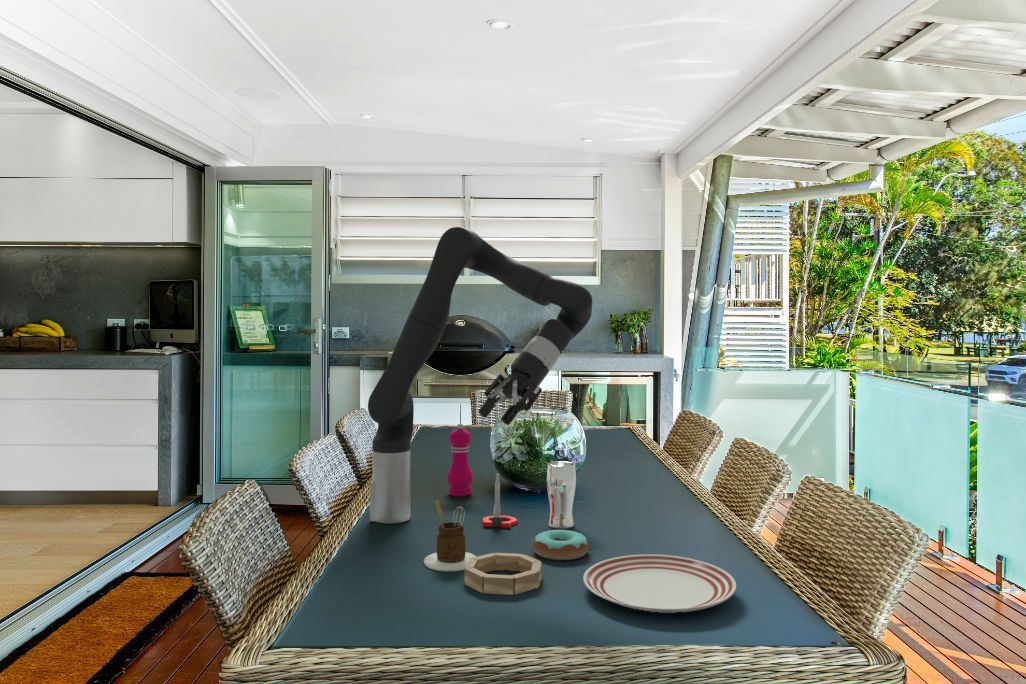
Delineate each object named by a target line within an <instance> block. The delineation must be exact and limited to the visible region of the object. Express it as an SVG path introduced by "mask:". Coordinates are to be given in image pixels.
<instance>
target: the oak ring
mask: <svg viewBox="0 0 1026 684" xmlns="http://www.w3.org/2000/svg"><path fill="white" fill-rule="evenodd" d="M542 567H543V566H542V560H539V559H537V558H533V557H531V556H529V555H527V554H522V553H512V552H511V553H510V552H509V553H508V552H491V553H487V554H482V555H479V556H477V557H473V558H471V559H469V560H468V562H467V564H466V566H465V568H464V570H463V571H464V573H463V576H464V583H465V584H464V586H467V587H468V588H471V589H473V590H475V591H477V592H479V593H481V594H489V595H490V594H492V595H511V596H512V595H518V594H522V593H526V592H528V591H532V589H533V590H536V589H539V588H540V586H541V582H540V581H542V575H543V574H542V570H543V569H542ZM493 570H494V571H503V570H509V571H508V572H518V573H516V574H512V575H511V574H510V575H509V574H490V573H489V571H491V572H493ZM519 571H520V572H519ZM485 572H487V573H485ZM521 572H522V573H521ZM488 573H489V574H488ZM535 588H536V589H535Z"/></svg>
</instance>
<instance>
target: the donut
mask: <svg viewBox="0 0 1026 684" xmlns="http://www.w3.org/2000/svg"><path fill="white" fill-rule="evenodd" d="M534 537H535V538H534V539H533V540H532V548H533V551H534V552H535V554H537V555H538V556H539V557H541V558H542V559H543V558H544V559H546V558H547V559H546V560H550V559H551V560H552V561H559V560H566V561H573V559H574V560H578V559H580V558H582V557H584V556H585V555H586V554H587V553H588V550H589V547H590V545H589V541H588V539H587V537H586V536H585V535H583V534H582V533H580V532H577V531H573V530H568V529H552V530H550V529H549V530H547V531H546V530H545V531H543V532H540V533H538V534H537V535H535V536H534ZM577 558H578V559H577ZM551 560H550V561H551Z"/></svg>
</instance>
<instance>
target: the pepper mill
mask: <svg viewBox="0 0 1026 684" xmlns="http://www.w3.org/2000/svg"><path fill="white" fill-rule="evenodd" d="M471 440H472V436H471V433H470V432H469V431H468V430H466V429H464V424H463V423H457V426H456V429H454V430H452V431H451V432H450V433H449V442H450V444H451V445H452V446H451V449H450V450H451V452H452V462H451V466H450V468H449V470H448V472H447V479H446V480H447V483H448V484H449V485H450V486H449V487H448V495H449V496H452V495H453V497H466V496H465V495H468V496H470V495H471V494H472V487H471V486H470V485H471V484H472V482H473V480H474V476H473V471H472V469H471V467H470V464H469V460H468V452H470V449H469V448H470V446H469V444H470V442H471ZM469 494H470V495H469Z"/></svg>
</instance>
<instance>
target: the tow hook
mask: <svg viewBox="0 0 1026 684" xmlns="http://www.w3.org/2000/svg"><path fill="white" fill-rule="evenodd" d="M500 490H501V483H500V473H495V482H494V505H493V515H489V516H485V517H482V527H483V528H491V529H511V527H512V526H515V525H516V524H517V522H518V519H517V518H516V517H513V516H510V515H501V505H500V503H501V502H500V498H501V495H500V494H501V491H500ZM502 519H503V520H502Z"/></svg>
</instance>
